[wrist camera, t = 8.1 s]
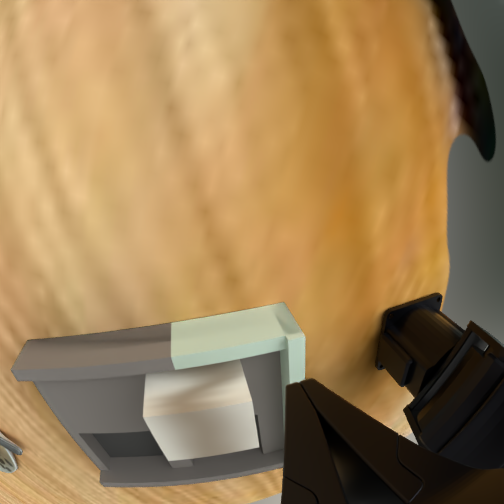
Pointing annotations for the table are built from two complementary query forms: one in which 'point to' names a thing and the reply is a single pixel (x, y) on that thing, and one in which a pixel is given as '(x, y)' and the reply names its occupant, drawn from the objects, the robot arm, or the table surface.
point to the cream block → (200, 411)
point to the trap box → (159, 360)
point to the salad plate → (8, 454)
